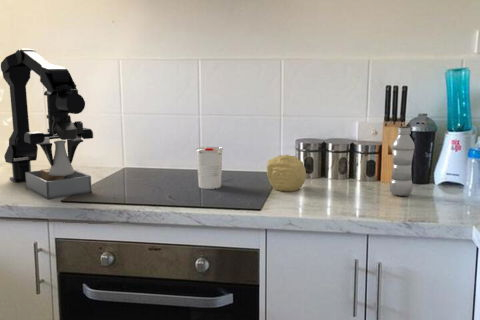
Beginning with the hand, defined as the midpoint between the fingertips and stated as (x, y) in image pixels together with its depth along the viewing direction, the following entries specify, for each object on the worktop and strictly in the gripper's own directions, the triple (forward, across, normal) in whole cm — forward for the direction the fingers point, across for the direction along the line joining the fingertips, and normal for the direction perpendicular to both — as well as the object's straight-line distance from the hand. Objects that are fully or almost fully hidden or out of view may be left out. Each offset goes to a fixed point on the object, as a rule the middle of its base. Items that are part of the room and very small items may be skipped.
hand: (61, 164), depth 157 cm
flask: (+3, 0, 0) cm, 3 cm away
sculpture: (+8, +55, -40) cm, 68 cm away
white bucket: (+9, +38, -22) cm, 45 cm away
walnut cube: (+8, 0, +8) cm, 11 cm away
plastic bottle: (+8, +75, -67) cm, 101 cm away
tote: (+9, 0, +4) cm, 9 cm away
